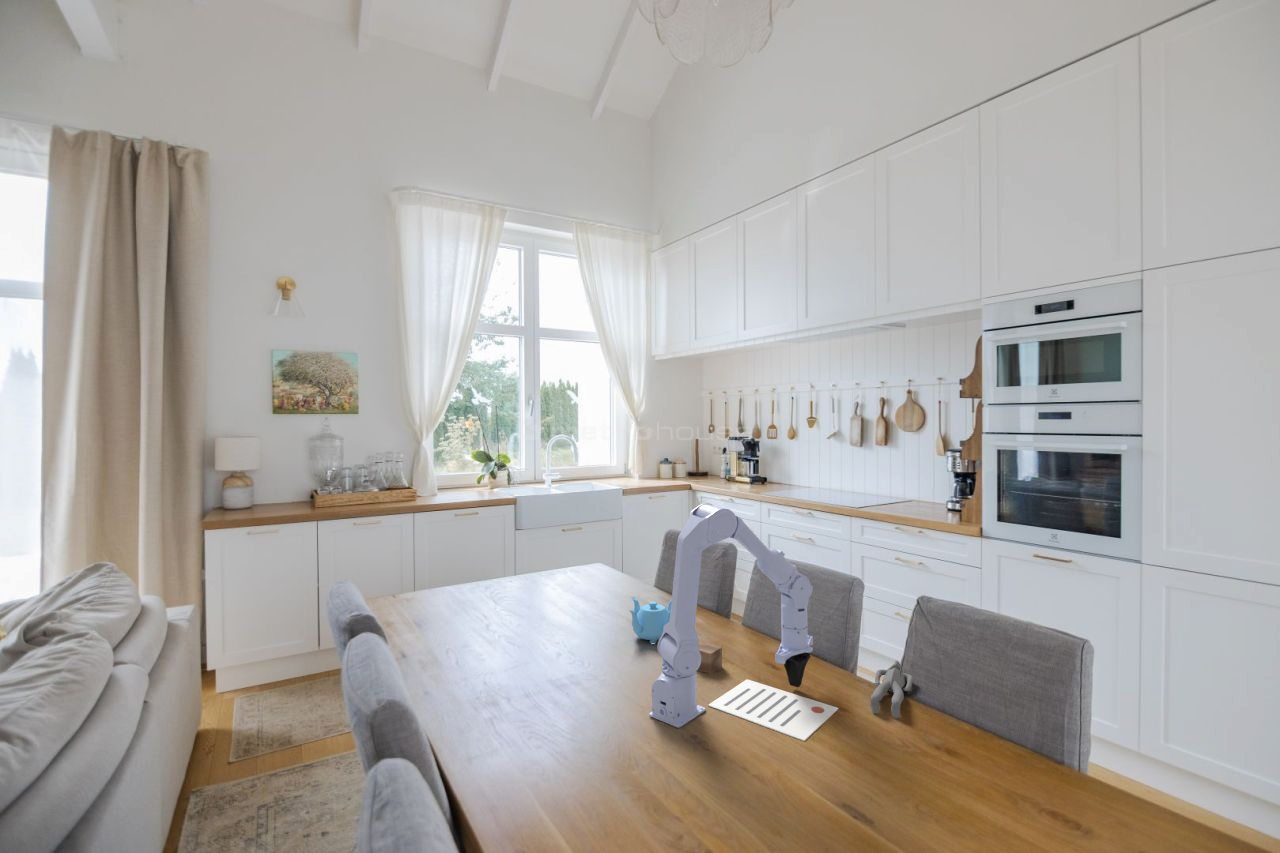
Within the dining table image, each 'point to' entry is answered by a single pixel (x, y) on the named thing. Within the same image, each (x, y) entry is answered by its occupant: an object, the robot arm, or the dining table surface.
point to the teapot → (650, 620)
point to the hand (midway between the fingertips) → (795, 685)
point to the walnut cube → (710, 658)
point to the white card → (775, 709)
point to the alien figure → (891, 687)
